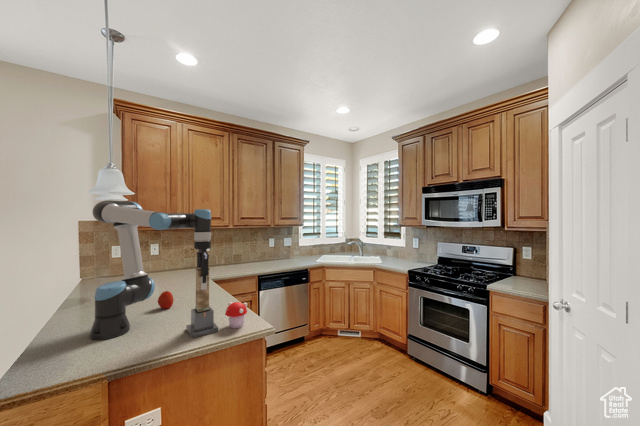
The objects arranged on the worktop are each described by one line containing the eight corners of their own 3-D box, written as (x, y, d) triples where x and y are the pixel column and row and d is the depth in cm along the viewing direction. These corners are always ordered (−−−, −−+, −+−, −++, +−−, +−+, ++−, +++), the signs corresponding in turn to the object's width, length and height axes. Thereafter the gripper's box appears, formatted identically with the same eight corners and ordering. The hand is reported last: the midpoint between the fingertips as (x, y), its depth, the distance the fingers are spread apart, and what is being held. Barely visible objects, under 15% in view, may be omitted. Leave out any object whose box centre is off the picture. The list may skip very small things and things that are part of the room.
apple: (155, 310, 159) (155, 292, 160) (162, 306, 168) (162, 288, 168) (169, 310, 160) (169, 292, 160) (176, 305, 168) (176, 288, 168)
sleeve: (191, 338, 124) (191, 316, 124) (186, 329, 133) (186, 309, 133) (218, 331, 131) (218, 310, 131) (211, 323, 140) (211, 304, 140)
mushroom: (251, 324, 140) (252, 300, 140) (235, 332, 130) (235, 307, 130) (237, 320, 145) (237, 297, 145) (220, 327, 136) (220, 303, 136)
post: (197, 312, 128) (198, 269, 129) (195, 309, 133) (195, 267, 133) (209, 310, 131) (209, 268, 132) (206, 307, 136) (206, 266, 136)
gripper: (215, 241, 127) (215, 291, 127) (206, 238, 142) (205, 283, 142) (198, 242, 123) (198, 293, 123) (190, 239, 137) (190, 285, 137)
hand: (202, 288), depth 132 cm, fingers closed on post, 5 cm apart
